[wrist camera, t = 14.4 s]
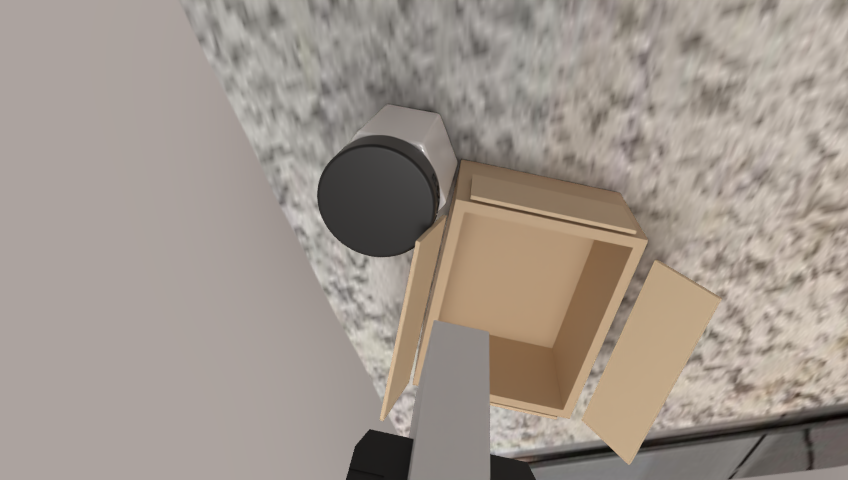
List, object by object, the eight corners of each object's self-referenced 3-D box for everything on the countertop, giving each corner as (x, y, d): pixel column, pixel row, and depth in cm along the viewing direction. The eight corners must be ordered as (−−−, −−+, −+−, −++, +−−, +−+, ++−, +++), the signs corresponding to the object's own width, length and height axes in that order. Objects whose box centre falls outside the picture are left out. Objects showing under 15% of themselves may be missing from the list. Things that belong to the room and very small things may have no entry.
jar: (412, 217, 48) (384, 283, 37) (341, 160, 47) (290, 212, 36) (477, 145, 44) (466, 196, 34) (401, 81, 43) (365, 112, 32)
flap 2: (719, 299, 34) (722, 298, 34) (654, 260, 37) (657, 259, 37) (628, 464, 41) (631, 463, 41) (581, 419, 44) (583, 418, 45)
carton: (462, 153, 45) (457, 192, 37) (622, 187, 45) (651, 234, 37) (422, 327, 54) (411, 388, 46) (555, 355, 54) (567, 422, 46)
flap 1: (446, 215, 37) (442, 214, 37) (420, 242, 33) (416, 240, 33) (408, 382, 45) (405, 381, 45) (383, 421, 40) (379, 419, 40)
